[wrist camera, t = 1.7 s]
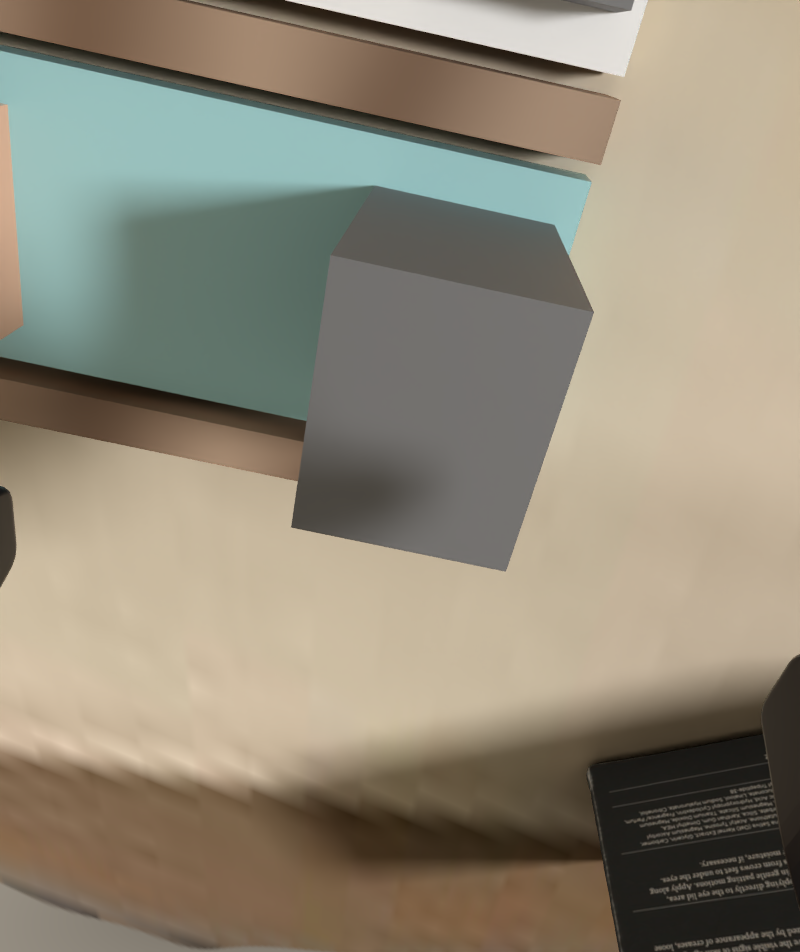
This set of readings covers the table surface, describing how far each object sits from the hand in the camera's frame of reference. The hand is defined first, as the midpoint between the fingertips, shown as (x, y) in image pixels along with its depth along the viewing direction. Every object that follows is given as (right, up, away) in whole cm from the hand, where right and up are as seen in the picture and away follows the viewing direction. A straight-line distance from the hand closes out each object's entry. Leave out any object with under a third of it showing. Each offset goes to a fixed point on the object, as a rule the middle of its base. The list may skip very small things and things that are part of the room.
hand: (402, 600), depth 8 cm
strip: (-6, +7, +10) cm, 14 cm away
